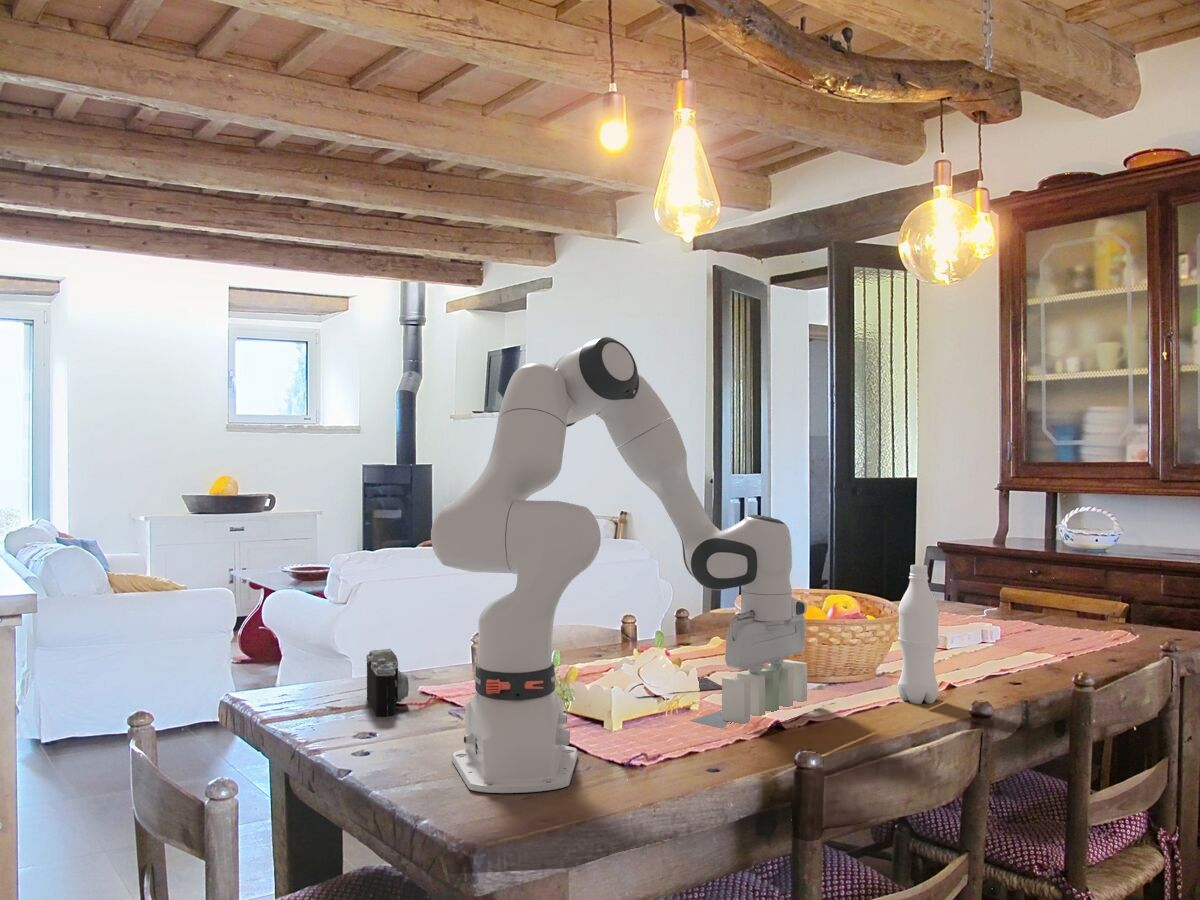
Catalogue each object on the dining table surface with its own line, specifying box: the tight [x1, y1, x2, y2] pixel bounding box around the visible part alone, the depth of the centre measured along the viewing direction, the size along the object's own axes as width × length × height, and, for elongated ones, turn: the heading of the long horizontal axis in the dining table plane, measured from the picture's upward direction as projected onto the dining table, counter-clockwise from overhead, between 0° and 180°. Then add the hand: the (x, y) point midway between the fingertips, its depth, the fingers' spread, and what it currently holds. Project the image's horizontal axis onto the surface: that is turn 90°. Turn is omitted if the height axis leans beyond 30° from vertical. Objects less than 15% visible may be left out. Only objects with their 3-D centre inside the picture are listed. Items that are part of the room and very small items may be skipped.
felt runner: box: [689, 709, 777, 729], centre depth 183 cm, size 28×12×1 cm, turn 137°
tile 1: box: [721, 675, 751, 724], centre depth 176 cm, size 2×5×7 cm, turn 47°
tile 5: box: [783, 658, 808, 702], centre depth 190 cm, size 2×5×7 cm, turn 47°
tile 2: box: [736, 671, 765, 716], centre depth 180 cm, size 2×5×7 cm, turn 47°
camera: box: [366, 648, 410, 719], centre depth 187 cm, size 15×7×10 cm, turn 20°
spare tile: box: [760, 667, 779, 712], centre depth 183 cm, size 2×5×7 cm, turn 46°
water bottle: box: [897, 564, 940, 705], centre depth 191 cm, size 7×7×25 cm
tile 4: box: [765, 663, 794, 707], centre depth 186 cm, size 2×5×7 cm, turn 47°
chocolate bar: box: [697, 677, 722, 692], centre depth 200 cm, size 9×1×18 cm
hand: (765, 686), depth 183 cm, fingers open, 3 cm apart
